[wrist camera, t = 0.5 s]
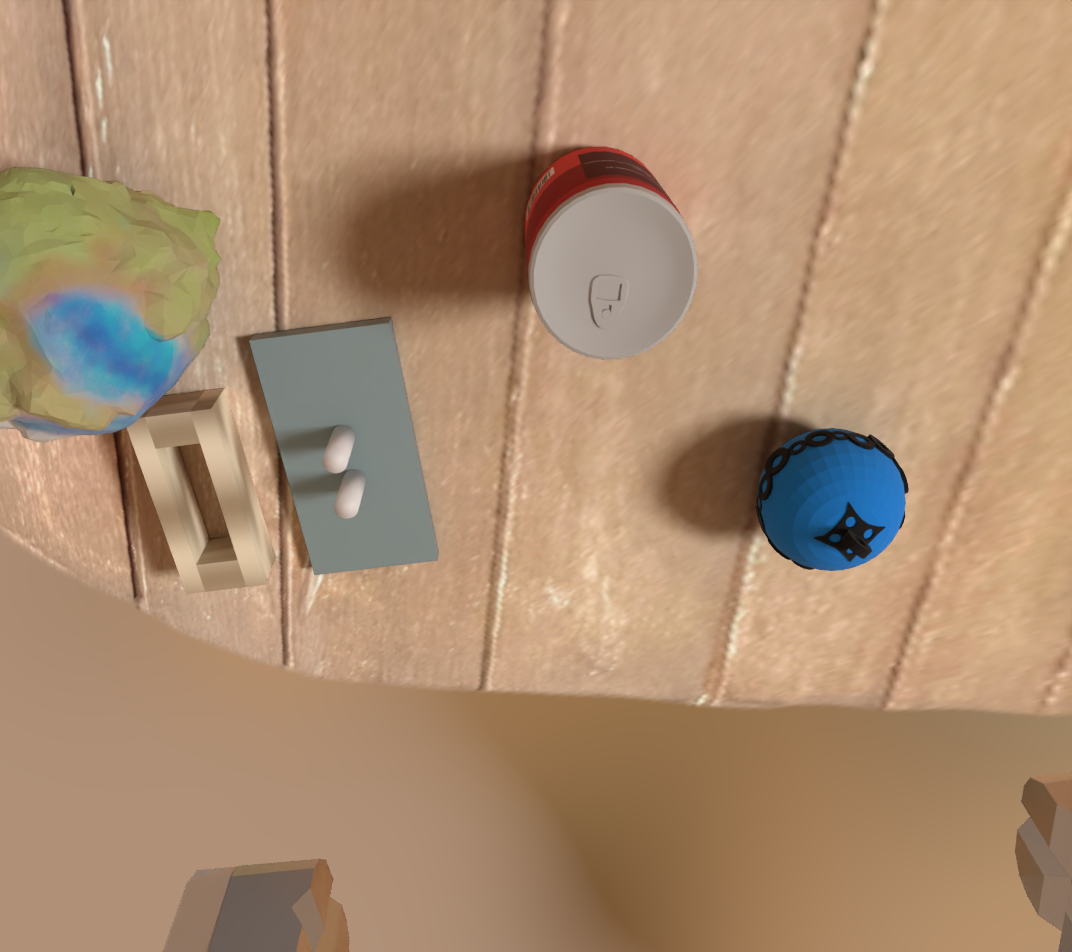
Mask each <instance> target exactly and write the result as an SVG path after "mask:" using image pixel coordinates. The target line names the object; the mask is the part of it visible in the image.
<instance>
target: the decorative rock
mask: <svg viewBox="0 0 1072 952" xmlns="http://www.w3.org/2000/svg"><path fill="white" fill-rule="evenodd" d="M219 224H220V219H219V218H218V217H217V216H216V215H215V214H214V213H212V212H211V211H198V210H192V209H185V208H177V207H175V206H173V205H170V204H168V203H166V202H164V200H163V199H161V198H160V197H158V196H156V195H155V194H153V193H152V192H150V191H133V190H132V189H129V188H126V186H125V184H124V183H121V182H119V181H100V180H97V179H94V178H91V177H83V176H76V175H71V174H67V173H62V172H57V171H52V170H46V169H41V168H25V167H14V168H10V169H6V170H4V171H3V172H2V173H1V174H0V429H17V430H19V431H20V432H21V434H22V436H23V437H24V438H26V439H30V440H33V441H36V442H48V441H53V440H58V439H63V438H68V437H74V436H79V435H96V436H97V435H102V434H107V433H113V432H116V431H119V430H122V429H125V428H127V427H129V426H130V425H132V424H133V423H135V422H136V421H137V420H138V419H139V418H140V417H141V416H142V415H143V414H144V413H145V412H146V411H147V410H148V409H149V408H150V407H151V406H153V405H154V404H155V403H156V402H157V401H158V400H159V399H160V398H161V397H162V396H163V395H164V394H165V393H166V392H167V391H168V390H170V389H171V388H172V387H173V386H174V385H175V384H176V383H177V381H178V380H179V378H180V377H181V375H182V374H183V372H184V371H185V370H186V368H187V367H188V366H189V364H190V363H191V362H192V361H193V360H194V359H195V358H196V357H197V356H198V354H199V353H200V351H201V350H202V349H203V347H204V345H205V342H206V340H207V338H208V337H209V336H210V325H209V323H208V321H207V316H208V313H209V310H210V307H211V303H212V301H213V300H214V299H215V298H216V293H217V288H218V286H219V284H220V282H219V273H218V269H217V265H218V263H219V262H220V261H221V257H220V256H219V254H218V253H217V251H216V250H215V245H214V240H213V239H214V236H215V234H216V231H217V229H218V226H219Z"/></svg>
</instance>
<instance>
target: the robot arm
mask: <svg viewBox="0 0 1072 952" xmlns="http://www.w3.org/2000/svg"><path fill="white" fill-rule="evenodd" d="M1021 802H1022V804H1023V805H1024V807H1025V809H1026V810H1027V812H1028V814H1029V815H1030V817H1029V818H1028V819H1027V820H1026V822H1024V824H1022V825H1021V826H1020V827H1019V829H1018V830H1017V836H1016V847H1015V854H1016V859H1017V865H1018V870H1019V876H1020V878H1021V881H1022V883H1023V886H1024V889H1025V891H1026V894H1027V896H1028V898H1029V900H1030V901H1031V903H1032V905H1033V907H1034V909H1035V911H1036V912H1037V914H1038V915H1039V916H1040V917H1041V918H1043V919H1044V920H1046V921H1047V922H1049V923H1050V924H1052V925H1053V926H1055V927H1056V928H1058V929H1059V930H1061V931H1062V934H1061V940H1060V945H1059V950H1058V951H1059V952H1072V772H1070V773H1062V774H1054V775H1046V776H1038V777H1031V778H1030V779H1029V780H1028V781H1027V782H1026V784H1025V785H1024V789H1023V795H1022V801H1021ZM332 883H333V877H332V874H331V872H330V869H329V866H328V864H327V861H326V860H324V859H312V860H301V861H290V862H277V863H266V864H254V865H242V866H237V867H226V868H215V869H205V870H197V871H196V872H195V873H194V875H193V876H192V877H191V878H190V880H189V881H188V883H187V884H186V887H185V890H184V893H183V895H182V898H181V901H180V904H179V907H178V909H177V912H176V915H175V918H174V921H173V923H172V926H171V929H170V932H169V935H168V938H167V940H166V943H165V946H164V949H163V952H349V933H348V927H347V920H346V917H345V913H344V910H343V907H342V905H341V904H340V903H338V902H337V901H335V900H334V899H333V898H331V897H330V894H331V889H332Z"/></svg>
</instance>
